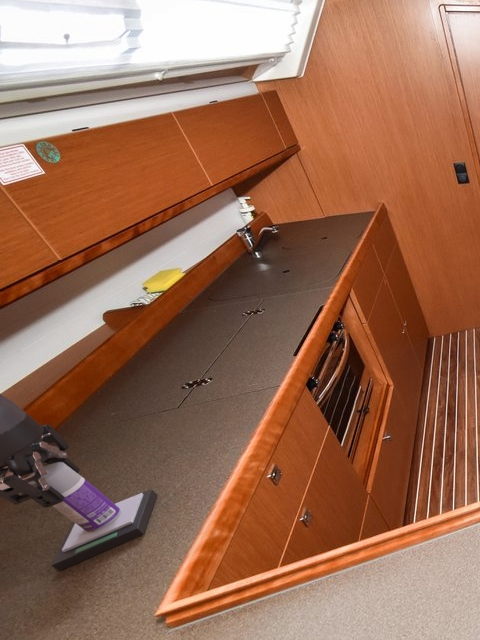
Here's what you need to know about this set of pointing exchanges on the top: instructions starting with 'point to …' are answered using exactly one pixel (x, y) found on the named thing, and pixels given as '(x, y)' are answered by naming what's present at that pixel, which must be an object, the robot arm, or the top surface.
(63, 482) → the container
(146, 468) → the top surface
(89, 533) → the scale
